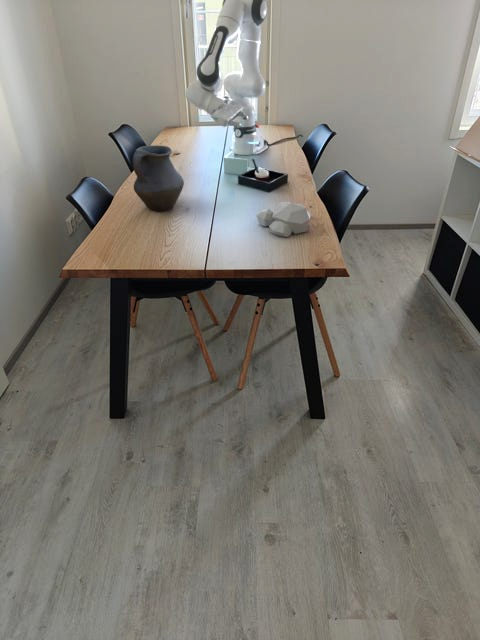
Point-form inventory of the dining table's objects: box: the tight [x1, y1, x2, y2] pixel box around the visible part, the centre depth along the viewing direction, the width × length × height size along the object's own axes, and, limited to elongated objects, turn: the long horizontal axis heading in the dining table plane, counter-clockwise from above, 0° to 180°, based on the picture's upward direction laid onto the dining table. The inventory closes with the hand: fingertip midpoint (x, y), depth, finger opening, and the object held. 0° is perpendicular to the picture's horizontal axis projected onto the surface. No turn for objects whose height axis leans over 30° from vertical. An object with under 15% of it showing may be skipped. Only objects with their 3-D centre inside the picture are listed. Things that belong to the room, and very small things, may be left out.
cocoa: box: [251, 158, 270, 182], centre depth 201 cm, size 10×6×12 cm, turn 102°
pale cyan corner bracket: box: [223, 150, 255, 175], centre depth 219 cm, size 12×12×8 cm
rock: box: [256, 200, 311, 238], centre depth 165 cm, size 18×20×10 cm
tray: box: [237, 166, 289, 193], centre depth 205 cm, size 16×18×4 cm
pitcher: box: [132, 145, 185, 212], centre depth 176 cm, size 21×22×25 cm
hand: (243, 121), depth 203 cm, fingers open, 8 cm apart
